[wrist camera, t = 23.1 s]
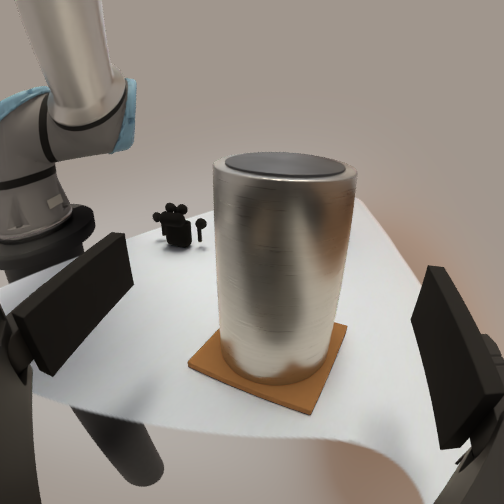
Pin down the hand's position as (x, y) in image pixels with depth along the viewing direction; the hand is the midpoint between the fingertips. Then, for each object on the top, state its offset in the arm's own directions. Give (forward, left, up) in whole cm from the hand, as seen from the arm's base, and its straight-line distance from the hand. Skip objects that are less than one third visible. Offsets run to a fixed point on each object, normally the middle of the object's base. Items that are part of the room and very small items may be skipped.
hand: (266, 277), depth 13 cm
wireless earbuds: (-17, +14, -9) cm, 24 cm away
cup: (-1, +5, -8) cm, 10 cm away
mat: (-1, +5, -9) cm, 10 cm away
